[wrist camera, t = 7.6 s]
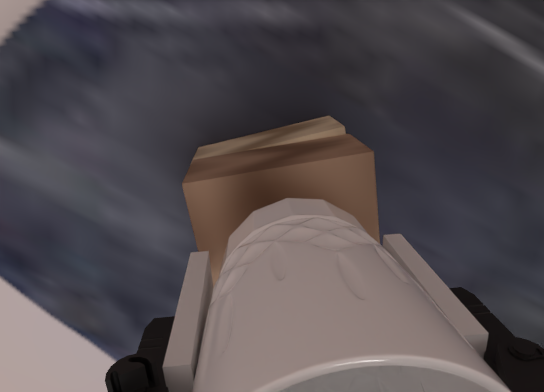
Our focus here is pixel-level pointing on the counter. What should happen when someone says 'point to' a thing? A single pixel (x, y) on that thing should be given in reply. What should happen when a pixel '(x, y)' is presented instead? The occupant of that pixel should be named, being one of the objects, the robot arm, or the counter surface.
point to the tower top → (278, 186)
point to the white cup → (326, 314)
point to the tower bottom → (275, 137)
